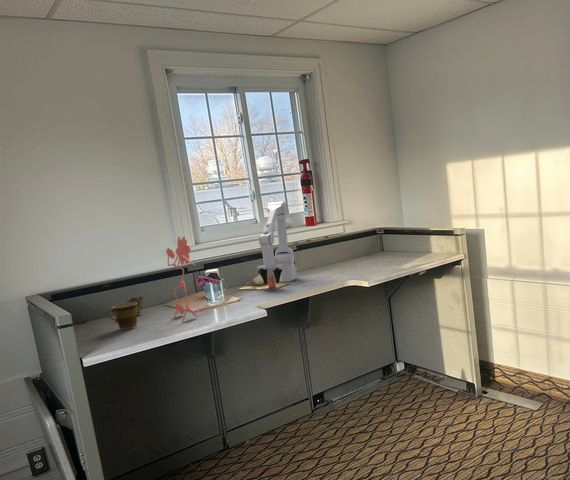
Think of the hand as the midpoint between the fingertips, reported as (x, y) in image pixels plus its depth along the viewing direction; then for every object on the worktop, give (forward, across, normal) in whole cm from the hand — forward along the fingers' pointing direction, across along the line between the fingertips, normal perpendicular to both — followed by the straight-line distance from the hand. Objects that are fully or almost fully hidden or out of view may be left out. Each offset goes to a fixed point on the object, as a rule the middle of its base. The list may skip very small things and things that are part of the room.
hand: (271, 283), depth 262 cm
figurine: (+3, -5, -53) cm, 54 cm away
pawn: (+2, 0, 0) cm, 2 cm away
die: (+1, -14, +7) cm, 16 cm away
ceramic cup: (+3, -22, -76) cm, 79 cm away
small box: (+3, -27, -14) cm, 31 cm away
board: (+3, -9, +4) cm, 10 cm away
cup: (+3, -38, -56) cm, 68 cm away
